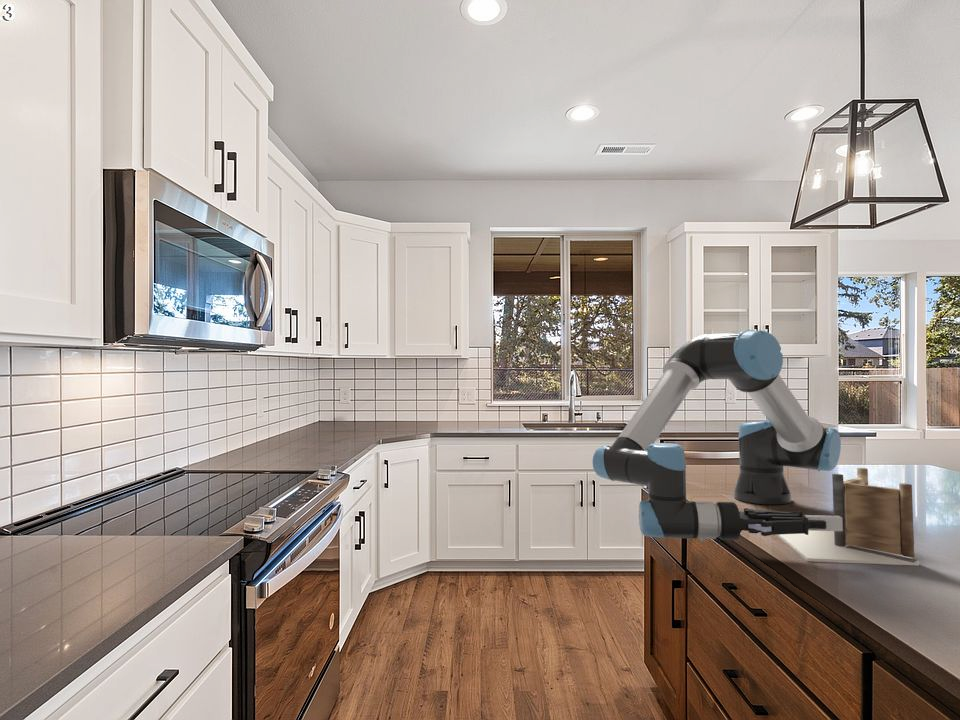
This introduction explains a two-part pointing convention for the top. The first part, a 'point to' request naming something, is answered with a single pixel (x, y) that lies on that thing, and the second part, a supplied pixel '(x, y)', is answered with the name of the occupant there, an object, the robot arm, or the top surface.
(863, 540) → the panel
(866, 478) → the fixed fence section
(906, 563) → the card
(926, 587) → the top surface
